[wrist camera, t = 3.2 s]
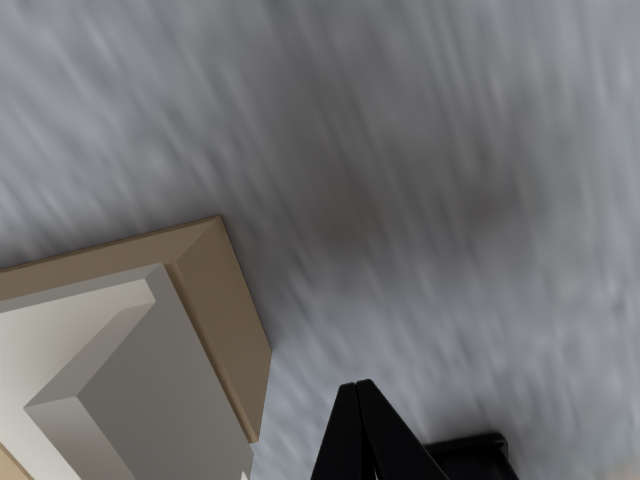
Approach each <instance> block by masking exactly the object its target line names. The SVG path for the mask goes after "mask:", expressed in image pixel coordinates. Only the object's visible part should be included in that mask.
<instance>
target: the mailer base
mask: <svg viewBox="0 0 640 480" xmlns="http://www.w3.org/2000/svg"><path fill="white" fill-rule="evenodd" d="M160 262H162V263H163V265H164V267H165V269H166V271H167V274H168V276H169V278H170V280H171V282H172V284H173V286H174V288H175V290H176V292H177V294H178V297H179V299H180V301H181V303H182V305H183V307H184V309H185V311H186V313H187V315H188V317H189V320H190V322H191V324H192V326H193V328H194V330H195V332H196V334H197V336H198V338H199V340H200V343H201V345H202V347H203V349H204V351H205V353H206V355H207V357H208V359H209V361H210V363H211V366H212V368H213V370H214V372H215V374H216V376H217V378H218V380H219V382H220V384H221V386H222V389H223V391H224V393H225V395H226V397H227V399H228V401H229V403H230V405H231V407H232V409H233V411H234V414H235V416H236V418H237V420H238V422H239V424H240V426H241V428H242V430H243V432H244V434H245V437H246V439H247V441H248V443H249V444H250V443H255V442H258V441H259V435H260V428H261V421H262V415H263V408H264V402H265V395H266V389H267V382H268V376H269V369H270V363H271V356H272V351H271V348H270V345H269V343H268V340H267V337H266V335H265V332H264V329H263V327H262V324H261V321H260V319H259V316H258V314H257V311H256V308H255V306H254V303H253V300H252V298H251V295H250V292H249V290H248V287H247V284H246V282H245V279H244V276H243V274H242V271H241V269H240V266H239V263H238V261H237V258H236V255H235V253H234V250H233V247H232V245H231V242H230V239H229V237H228V234H227V231H226V229H225V226H224V223H223V221H222V218H221V216H220V215H217V216H213V217H209V218H205V219H201V220H197V221H193V222H189V223H185V224H181V225H177V226H173V227H169V228H165V229H161V230H157V231H153V232H149V233H145V234H141V235H137V236H133V237H129V238H125V239H121V240H117V241H113V242H109V243H105V244H101V245H97V246H93V247H89V248H85V249H81V250H77V251H73V252H69V253H65V254H61V255H57V256H53V257H49V258H45V259H41V260H37V261H33V262H29V263H25V264H21V265H17V266H13V267H9V268H5V269H1V270H0V301H4V300H8V299H12V298H16V297H20V296H24V295H28V294H32V293H36V292H41V291H45V290H49V289H53V288H57V287H61V286H65V285H69V284H73V283H77V282H82V281H86V280H90V279H94V278H98V277H102V276H106V275H110V274H114V273H118V272H123V271H127V270H131V269H135V268H139V267H143V266H147V265H151V264H155V263H160Z"/></svg>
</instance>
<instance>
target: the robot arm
mask: <svg viewBox="0 0 640 480" xmlns="http://www.w3.org/2000/svg"><path fill="white" fill-rule="evenodd" d="M374 468H375V469H374ZM375 472H376V475H375ZM376 476H377V479H378V480H519V478H518V477H517V475H516V473H515V472H514V470H513V468H512V467H511V465H510V463H509V462H508V442H507V440H506V439H505V437H504V436H503V435H502V434H500V433H497V434H491V435H486V436H481V437H476V438H472V439H467V440H462V441H457V442H452V443H447V444H442V445H437V446H432V447H427V448H424V447H423V445H422V444H421V443H420V441H419V440H418V439H417V438H416V436H415V435H414V434H413V432H412V431H411V430H410V429H409V427H408V426H407V425H406V423H405V422H404V421H403V420H402V418H401V417H400V416H399V414H398V413H397V412H396V411H395V409H394V408H393V407H392V405H391V404H390V403H389V402H388V400H387V399H386V398H385V396H384V395H383V394H382V393H381V391H380V390H379V389H378V387H377V386H376V385H375V384H374V382H373V381H372V380H371V379H365V380H360V381H357V382H356V384H355V383H354V382H351V383H346V384H342V385H341V386H340V387H339V390H338V393H337V396H336V399H335V402H334V406H333V409H332V412H331V415H330V418H329V422H328V425H327V428H326V431H325V434H324V437H323V441H322V444H321V447H320V450H319V453H318V457H317V460H316V463H315V466H314V469H313V473H312V476H311V479H310V480H376Z"/></svg>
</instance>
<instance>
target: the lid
mask: <svg viewBox="0 0 640 480" xmlns="http://www.w3.org/2000/svg"><path fill="white" fill-rule="evenodd" d="M253 456H254V453H253V451H252V449H251V447H250V445H249V443H248V441H247V439H246V437H245V434H244V432H243V430H242V428H241V426H240V424H239V422H238V420H237V418H236V416H235V414H234V411H233V409H232V407H231V405H230V403H229V401H228V399H227V397H226V395H225V393H224V391H223V389H222V386H221V384H220V382H219V380H218V378H217V376H216V374H215V372H214V370H213V368H212V366H211V363H210V361H209V359H208V357H207V355H206V353H205V351H204V349H203V347H202V345H201V343H200V340H199V338H198V336H197V334H196V332H195V330H194V328H193V326H192V324H191V322H190V320H189V317H188V315H187V313H186V311H185V309H184V307H183V305H182V303H181V301H180V299H179V297H178V294H177V292H176V290H175V288H174V286H173V284H172V282H171V280H170V278H169V276H168V274H167V271H166V269H165V267H164V265H163V263H162V262H160V263H155V264H151V265H147V266H143V267H139V268H135V269H131V270H127V271H123V272H118V273H114V274H110V275H106V276H102V277H98V278H94V279H90V280H86V281H82V282H77V283H73V284H69V285H65V286H61V287H57V288H53V289H49V290H45V291H41V292H36V293H32V294H28V295H24V296H20V297H16V298H12V299H8V300H4V301H0V480H250V475H251V468H252V462H253Z"/></svg>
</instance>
